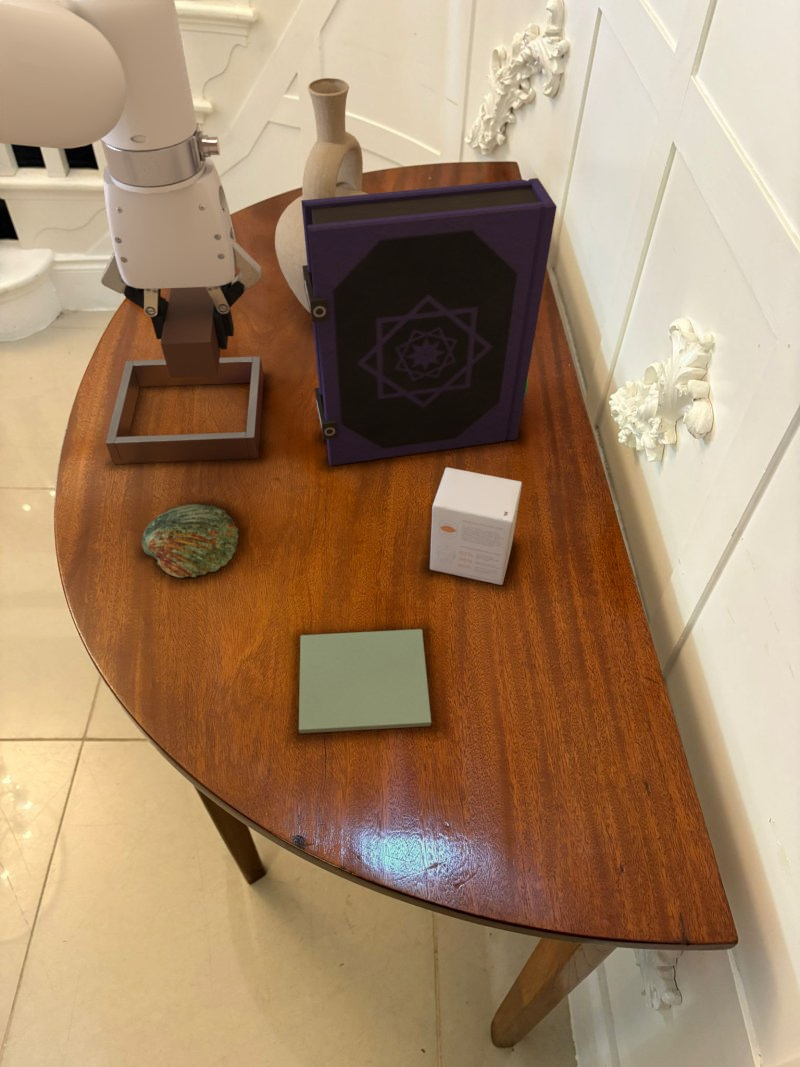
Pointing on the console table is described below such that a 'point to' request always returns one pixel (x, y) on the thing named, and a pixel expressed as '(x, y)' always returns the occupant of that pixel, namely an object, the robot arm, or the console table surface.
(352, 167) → the vase
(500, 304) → the book
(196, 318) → the brown rectangular block
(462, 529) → the small box
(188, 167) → the robot arm
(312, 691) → the mat
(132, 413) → the rectangular frame
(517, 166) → the console table surface
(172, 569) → the seashell
